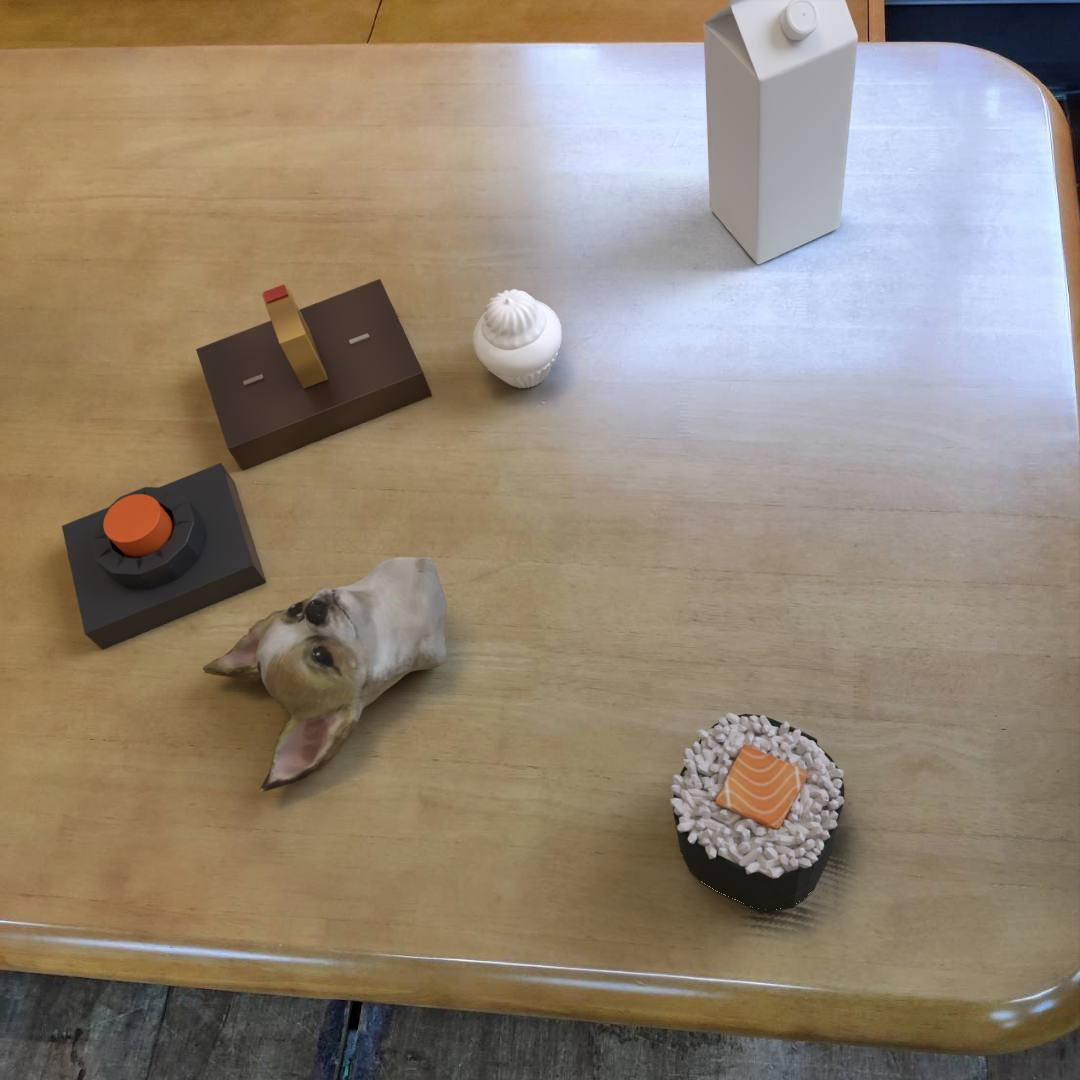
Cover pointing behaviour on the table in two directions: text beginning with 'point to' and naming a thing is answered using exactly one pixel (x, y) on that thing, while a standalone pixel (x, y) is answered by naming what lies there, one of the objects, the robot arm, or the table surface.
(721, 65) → the milk carton
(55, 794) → the table surface
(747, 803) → the sushi
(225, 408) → the plate
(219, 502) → the push button base
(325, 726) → the ceramic sculpture
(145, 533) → the bell button
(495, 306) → the muffin
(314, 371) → the lock knob
